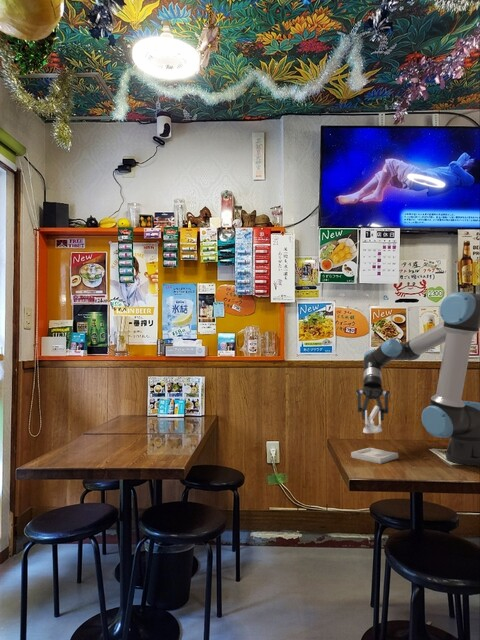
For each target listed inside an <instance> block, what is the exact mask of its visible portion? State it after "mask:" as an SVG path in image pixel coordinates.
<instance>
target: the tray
mask: <svg viewBox="0 0 480 640" xmlns="http://www.w3.org/2000/svg"><path fill="white" fill-rule="evenodd" d="M350 457H351V458H352V459H356V460H362V461H365V462H369V463H374V464H380V465H382V464H383V463H384V464H385V463H388V462H391V461H394V460H397V459H399V453H398V452H393V451H389V450H384V449H378V448H373V447H367V448H363V449H359V450H354V451H351V452H350Z"/></svg>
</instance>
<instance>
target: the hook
mask: <svg viewBox="0 0 480 640" xmlns="http://www.w3.org/2000/svg"><path fill="white" fill-rule="evenodd" d="M378 413H379V407H378V405H374V406H373V408H372V410H371V412H370V413H369V416H367V428H365V426H364V427H363V430H362V433H364V434H378V433H381V432H383V428H382V427H381V428H379V425H375V421H374V419H375V417H376V415H377V414H378Z"/></svg>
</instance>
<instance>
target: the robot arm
mask: <svg viewBox="0 0 480 640" xmlns="http://www.w3.org/2000/svg"><path fill="white" fill-rule="evenodd" d="M439 315H440V317H441V319H442V322H440V323H438V324H436V325H434V326H433V327H431V328H429V329H428V330H425V331H424V332H422V333H420V334H419V335H416V336H415V337H413V338H411V339H410V340H407V341H406V342H402V343H400V341H399V340H397V339H395V338H391V337H390V338H388V339H387V340H385V341H383V343H382V344H381V345H380V346H379V347H378V348H376V349H370V350H367V351H366V352H365V353H364V355H363V360H362V361H363V381H362V382H363V387H362V389H361V390H359V389H356V391H355V392H356V397H357V412H358V413H361V418H362V420H364V427H365V428H367V426H368V424H367V420H368V410H367V409H368V406H369V403H370V400H375V402H376V403H377V406H378V407H379V410H378V426H379V428H382V421H384V419H385V414H387V415H388V414H389V397H390V391H389V390H387V391H386V390H384V389H383V381H382V379H383V377H382V368H384V366H386V365H387V364H388V363H389V362H391V361H408V362H409V361H411V362H412V361H416V360H418V359H419V358H420V357H421V355H423V354H424V353H426V352H428V351H431V350H432V349H434V348H436V347H438V346H440V345H442V344H444V346H443V347H444V348H443V352H442V359H441V364H440V369H439V370H440V371H439V374H438V375H439V376H438V382H437V387H436V393H435V394H434V395H432V396H431V397H430V400H429V401H430V402H429V405H428V406H427V407H425V408H423V411H421V412H422V413H421V415H420V416H421V423H422V425H423V427H424V429H425V430H426V432H427V433H428V434H429V435H431V436H433V437H435V438H440V439H441V438H445V439H446V438H449V437H450V439H449V442H448V446H447V448H446V451H445V459H446V460H447V461H448V462H451V463H455V464H459V465H460V464H461V465H467V466H480V402H477V401H468V400H462V397H463V391H464V387H465V380H466V377H467V376H466V375H467V369H468V365H469V359H470V358H469V357H470V355H471V347H472V343H473V337H474V336H475V335H476V334H478V333H479V330H480V293H471V292H466V291H460V292H459V291H458V292H457V291H456V292H453V293H450V294H448V295H447V296H446V297H445V298H444V299H442V302H441V303H440V306H439ZM363 395H364V396H365V399H364V402H363V405H362V396H363ZM382 395H383V397H384V407H383V402H382V400H381V396H382Z"/></svg>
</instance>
